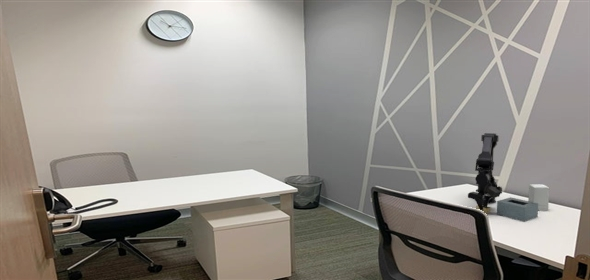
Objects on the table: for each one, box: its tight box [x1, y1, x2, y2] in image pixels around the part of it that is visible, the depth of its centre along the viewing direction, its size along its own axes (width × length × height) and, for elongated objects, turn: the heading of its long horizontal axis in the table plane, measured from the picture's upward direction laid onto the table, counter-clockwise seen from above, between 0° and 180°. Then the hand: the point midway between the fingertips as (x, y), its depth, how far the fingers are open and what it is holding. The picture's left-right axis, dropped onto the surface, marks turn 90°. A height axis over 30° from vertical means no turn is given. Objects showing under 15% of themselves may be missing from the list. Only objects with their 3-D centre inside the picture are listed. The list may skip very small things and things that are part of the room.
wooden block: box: [475, 205, 491, 214], centre depth 203 cm, size 6×3×2 cm, turn 31°
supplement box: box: [527, 183, 550, 212], centre depth 204 cm, size 7×7×13 cm
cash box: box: [496, 196, 539, 222], centre depth 194 cm, size 14×12×7 cm
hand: (483, 209), depth 203 cm, fingers closed on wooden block, 3 cm apart
